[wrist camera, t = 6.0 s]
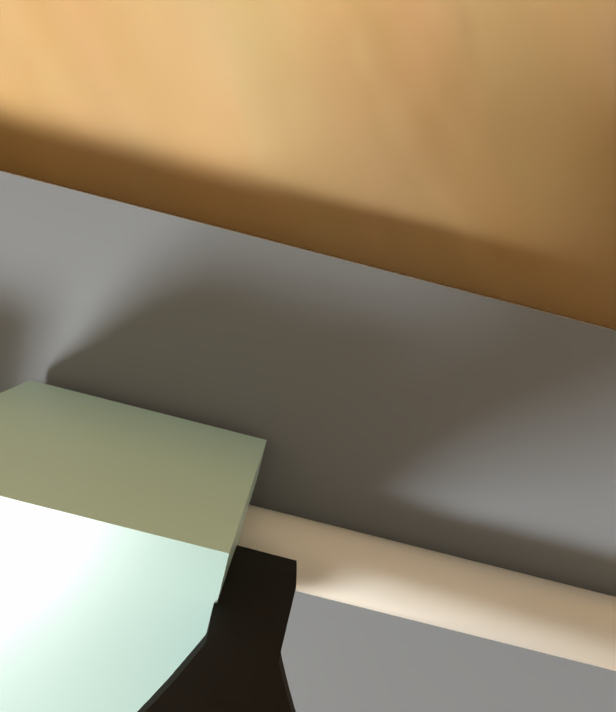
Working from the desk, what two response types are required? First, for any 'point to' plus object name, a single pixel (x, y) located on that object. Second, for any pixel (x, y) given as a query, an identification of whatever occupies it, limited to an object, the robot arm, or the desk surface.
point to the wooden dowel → (439, 588)
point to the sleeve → (109, 545)
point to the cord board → (342, 422)
